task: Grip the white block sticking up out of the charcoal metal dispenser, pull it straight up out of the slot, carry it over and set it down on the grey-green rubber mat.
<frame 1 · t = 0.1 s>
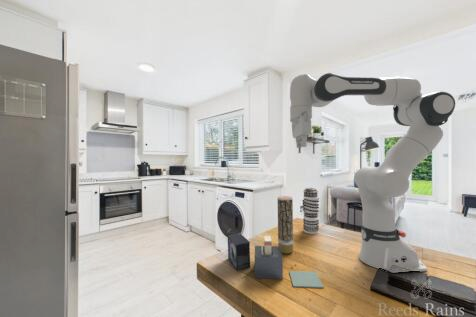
hand: (301, 147, 88), 48 cm above the table, fingers open, 8 cm apart
small box: (238, 263, 87), on the table
decorative candle: (311, 231, 121), on the table
mat: (305, 279, 74), on the table
white block: (268, 264, 79), point 3 cm above the table, touching dispenser
paper tube: (285, 251, 97), on the table
dispenser: (268, 271, 80), on the table
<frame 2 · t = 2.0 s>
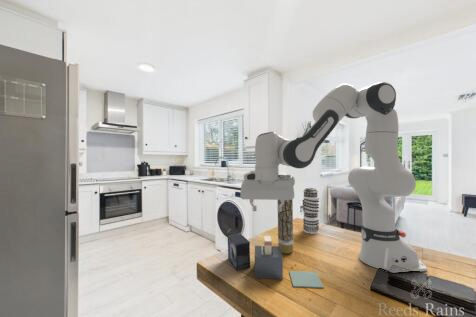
hand: (266, 210, 79), 24 cm above the table, fingers open, 8 cm apart
nothing on the table moved.
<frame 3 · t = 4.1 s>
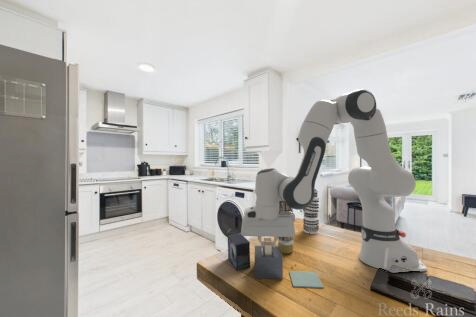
hand: (267, 247, 79), 10 cm above the table, fingers closed on white block, 2 cm apart
white block: (268, 264, 79), point 3 cm above the table, touching dispenser, gripper
everything else where it was.
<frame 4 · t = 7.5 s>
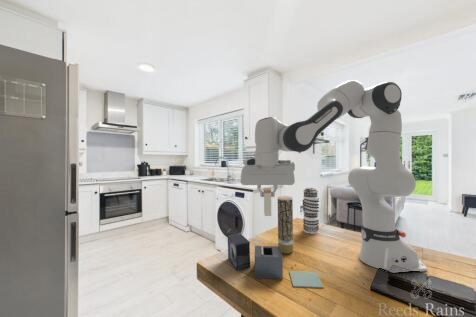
hand: (267, 196, 79), 29 cm above the table, fingers closed on white block, 2 cm apart
white block: (267, 213, 79), point 22 cm above the table, touching gripper
everything else where it was.
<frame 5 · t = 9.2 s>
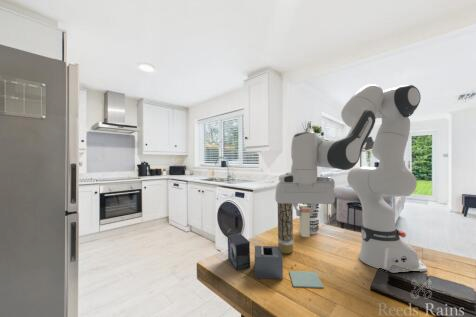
hand: (304, 215, 74), 23 cm above the table, fingers closed on white block, 2 cm apart
white block: (304, 234, 74), point 16 cm above the table, touching gripper
everything else where it was.
when the fingers open (8 cm above the table, at t = 11.0 s): white block drops 1 cm, resting on mat.
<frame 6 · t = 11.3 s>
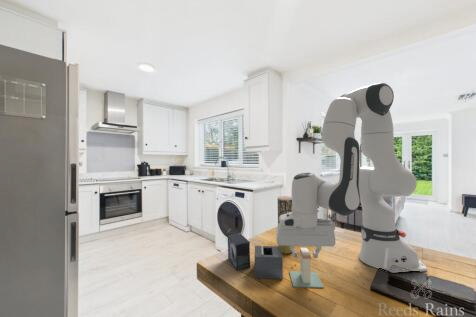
hand: (305, 257, 74), 8 cm above the table, fingers open, 6 cm apart
white block: (305, 278, 74), resting on mat
everything else where it was.
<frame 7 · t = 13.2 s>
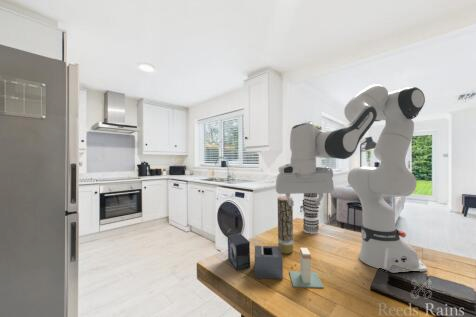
hand: (304, 205, 76), 26 cm above the table, fingers open, 8 cm apart
nothing on the table moved.
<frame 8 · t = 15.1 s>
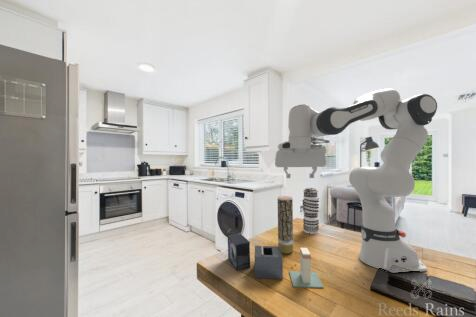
hand: (300, 178, 86), 35 cm above the table, fingers open, 8 cm apart
nothing on the table moved.
at the end: white block 0.1 cm from the mat (horizontally); white block touching mat; white block resting on mat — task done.
